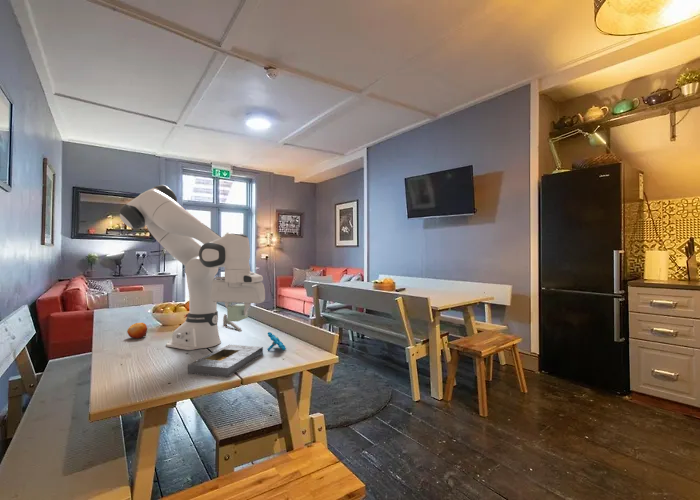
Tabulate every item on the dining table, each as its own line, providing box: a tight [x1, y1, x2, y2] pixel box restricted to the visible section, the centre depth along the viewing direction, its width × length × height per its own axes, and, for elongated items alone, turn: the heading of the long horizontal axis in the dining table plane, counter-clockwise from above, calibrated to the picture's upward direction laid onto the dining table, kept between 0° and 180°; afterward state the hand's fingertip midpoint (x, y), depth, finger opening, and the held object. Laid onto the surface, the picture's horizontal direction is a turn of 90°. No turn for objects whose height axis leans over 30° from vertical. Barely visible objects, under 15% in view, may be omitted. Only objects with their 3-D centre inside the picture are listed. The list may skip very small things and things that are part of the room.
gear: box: [266, 331, 287, 352], centre depth 139 cm, size 11×6×10 cm
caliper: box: [222, 313, 243, 332], centre depth 178 cm, size 20×1×6 cm, turn 44°
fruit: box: [126, 322, 148, 340], centre depth 160 cm, size 8×8×8 cm
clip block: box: [226, 303, 249, 323], centre depth 122 cm, size 4×7×5 cm, turn 167°
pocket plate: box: [187, 344, 264, 378], centre depth 123 cm, size 15×24×3 cm, turn 167°
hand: (238, 314), depth 122 cm, fingers closed on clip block, 4 cm apart
